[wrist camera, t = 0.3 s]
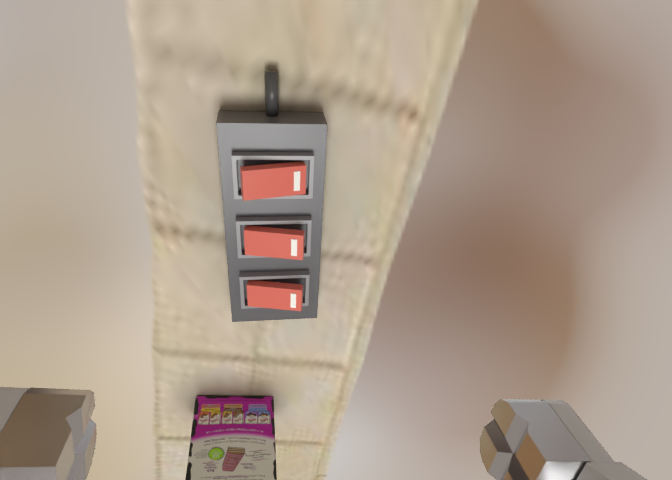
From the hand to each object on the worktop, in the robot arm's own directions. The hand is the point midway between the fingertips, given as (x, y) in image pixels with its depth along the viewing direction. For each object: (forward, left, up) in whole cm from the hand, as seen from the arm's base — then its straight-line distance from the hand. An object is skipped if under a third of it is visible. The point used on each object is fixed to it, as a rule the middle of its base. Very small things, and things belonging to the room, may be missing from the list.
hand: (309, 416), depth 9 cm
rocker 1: (+11, 0, -34) cm, 36 cm away
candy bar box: (+50, -6, -39) cm, 64 cm away
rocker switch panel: (+16, 0, -39) cm, 42 cm away
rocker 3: (+25, 0, -34) cm, 42 cm away
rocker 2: (+18, 0, -34) cm, 38 cm away
